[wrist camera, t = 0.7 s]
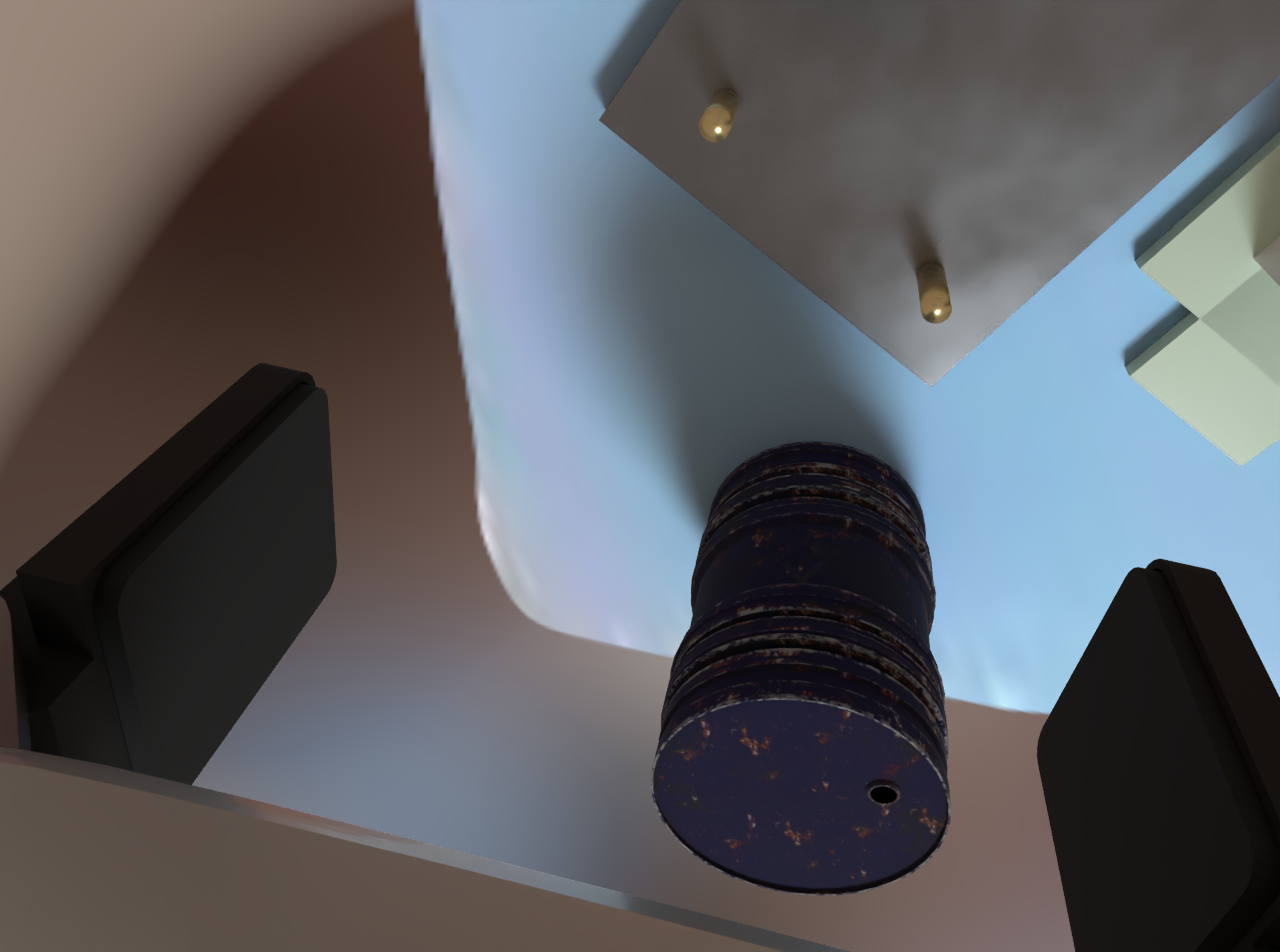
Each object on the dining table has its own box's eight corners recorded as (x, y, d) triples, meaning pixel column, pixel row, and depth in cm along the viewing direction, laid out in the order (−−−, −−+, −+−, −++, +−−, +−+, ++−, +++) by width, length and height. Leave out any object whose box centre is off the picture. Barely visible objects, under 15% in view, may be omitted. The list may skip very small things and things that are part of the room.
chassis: (1047, -534, 24) (1078, -596, 21) (1446, -97, 28) (1529, -88, 24) (606, 112, 35) (578, 141, 32) (929, 373, 38) (935, 426, 35)
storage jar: (745, 631, 48) (704, 906, 35) (674, 469, 43) (600, 719, 31) (951, 595, 44) (986, 887, 32) (897, 415, 40) (913, 673, 27)
